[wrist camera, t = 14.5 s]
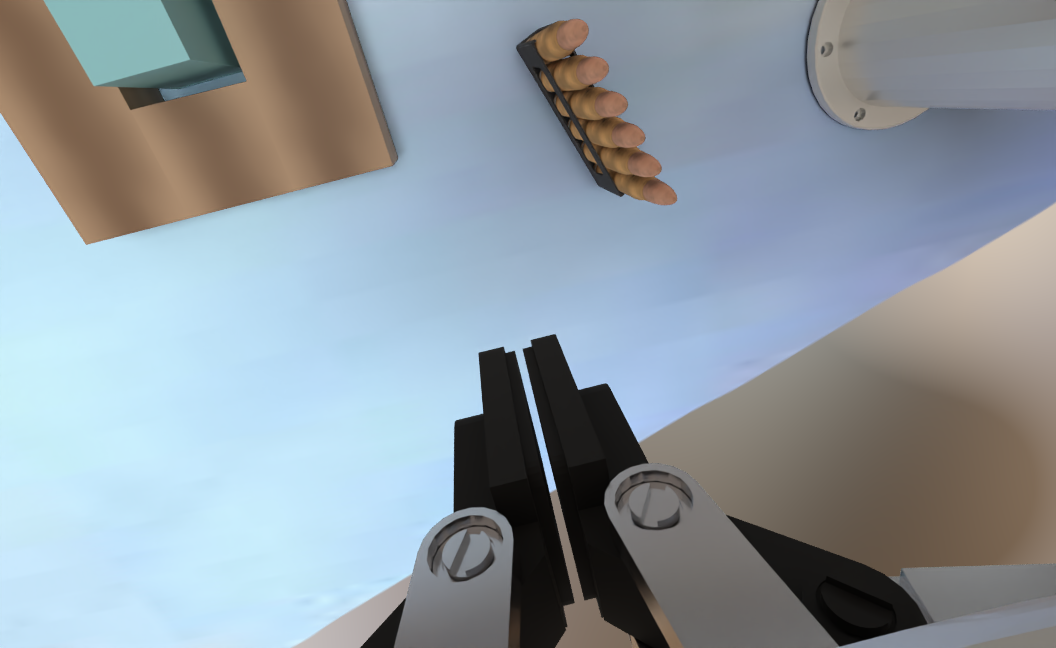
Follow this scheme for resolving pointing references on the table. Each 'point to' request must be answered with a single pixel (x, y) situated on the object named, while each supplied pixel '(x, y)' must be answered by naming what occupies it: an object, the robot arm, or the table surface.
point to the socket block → (194, 118)
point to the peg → (146, 41)
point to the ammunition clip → (592, 112)
